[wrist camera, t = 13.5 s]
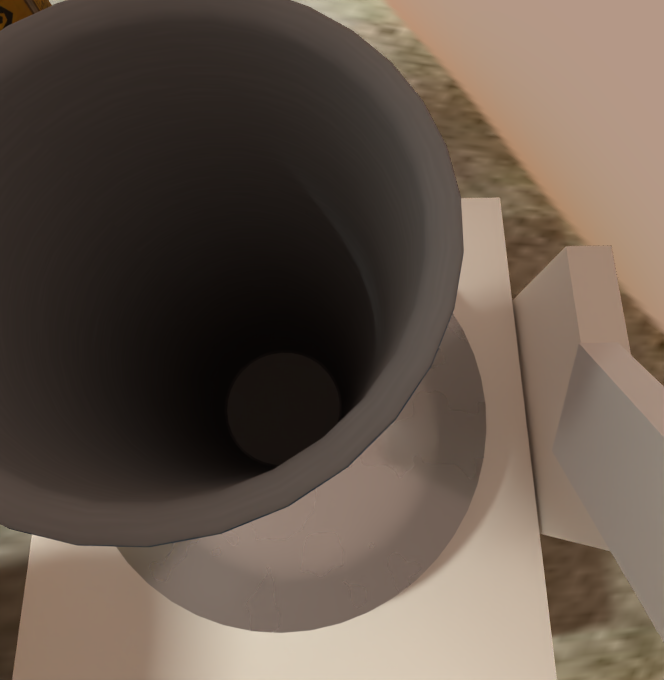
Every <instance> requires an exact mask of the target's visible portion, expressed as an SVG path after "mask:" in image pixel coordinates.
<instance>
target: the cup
mask: <svg viewBox="0 0 664 680" xmlns="http://www.w3.org/2000/svg"><path fill="white" fill-rule="evenodd" d="M463 254H464V245H463V226H462V208H461V196H460V192H459V188H458V185H457V181H456V178H455V174H454V170H453V167H452V163H451V160H450V156H449V152H448V149H447V145H446V143H445V142H444V140H443V138H442V136H441V134H440V132H439V130H438V128H437V126H436V124H435V123H434V121H433V119H432V117H431V115H430V113H429V111H428V109H427V107H426V105H425V104H424V102H423V100H422V99H421V98H420V96H419V95H418V94H417V93H416V92H415V90H414V89H413V88H412V87H411V86H410V84H409V83H408V82H407V81H406V80H405V78H404V77H403V76H402V75H401V73H400V72H399V71H398V70H397V69H396V67H395V66H394V65H393V64H392V63H391V62H390V61H389V60H388V59H387V58H385V57H384V56H383V55H382V54H381V53H379V52H378V51H377V50H376V49H374V48H373V47H372V46H371V45H370V44H368V43H367V42H366V41H365V40H363V39H362V38H361V37H360V36H359V35H357V34H356V33H355V32H354V31H352V30H351V29H349V28H347V27H345V26H343V25H341V24H340V23H338V22H336V21H334V20H332V19H331V18H329V17H327V16H325V15H323V14H321V13H320V12H318V11H316V10H314V9H312V8H311V7H308V6H306V5H303V4H300V3H297V2H294V1H291V0H67V1H63V2H60V3H57V4H54V5H52V6H50V7H48V8H46V9H44V10H41V11H39V12H37V13H35V14H33V15H30V16H28V17H26V18H24V19H22V20H19V21H17V22H15V23H13V24H11V25H9V26H7V27H5V28H4V29H2V30H1V31H0V524H1V525H3V526H5V527H7V528H9V529H12V530H16V531H20V532H24V533H28V534H32V535H37V536H41V537H45V538H49V539H53V540H57V541H61V542H65V543H69V544H73V545H77V546H114V547H154V546H159V545H164V544H170V543H175V542H181V541H186V540H191V539H197V538H202V537H208V536H213V535H218V534H222V533H225V532H227V531H230V530H232V529H235V528H237V527H239V526H242V525H244V524H247V523H249V522H252V521H254V520H257V519H259V518H262V517H264V516H267V515H269V514H272V513H274V512H277V511H279V510H281V509H284V508H286V507H289V506H290V505H292V504H293V503H295V502H296V501H298V500H299V499H301V498H302V497H304V496H305V495H307V494H308V493H310V492H311V491H313V490H314V489H316V488H317V487H319V486H320V485H322V484H323V483H325V482H327V481H328V480H330V479H331V478H333V477H334V476H336V475H337V474H339V473H340V472H342V471H343V470H345V469H346V468H348V467H349V466H350V465H351V464H352V463H353V462H354V461H355V460H356V459H357V458H358V457H359V456H360V455H361V454H362V453H363V452H364V451H365V450H366V449H367V448H368V447H369V446H370V445H371V444H372V443H373V442H374V441H375V440H376V439H377V438H378V437H379V436H380V435H381V434H382V433H383V432H384V431H385V430H386V429H387V428H388V427H389V426H390V425H391V424H392V423H393V422H394V421H395V420H396V419H397V417H398V416H399V414H400V413H401V411H402V410H403V408H404V407H405V405H406V404H407V402H408V401H409V399H410V398H411V396H412V395H413V393H414V392H415V390H416V389H417V387H418V386H419V384H420V383H421V381H422V380H423V378H424V377H425V375H426V374H427V372H428V371H429V369H430V368H431V366H432V364H433V361H434V359H435V356H436V354H437V351H438V349H439V346H440V344H441V341H442V339H443V336H444V334H445V331H446V329H447V326H448V324H449V321H450V319H451V316H452V313H453V311H454V308H455V302H456V296H457V290H458V284H459V278H460V272H461V266H462V260H463Z"/></svg>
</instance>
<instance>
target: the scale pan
mask: <svg viewBox="0 0 664 680" xmlns="http://www.w3.org/2000/svg"><path fill="white" fill-rule="evenodd" d="M485 440H486V404H485V398H484V392H483V386H482V380H481V376H480V373H479V369H478V366H477V362H476V359H475V356H474V353H473V351H472V349H471V346H470V344H469V342H468V340H467V337H466V335H465V333H464V331H463V329H462V327H461V326H460V324H459V322H458V321H457V319H456V318H455V316H454V314H453V313H452V316H451V319H450V321H449V324H448V326H447V329H446V331H445V334H444V336H443V339H442V341H441V344H440V346H439V349H438V351H437V354H436V356H435V359H434V361H433V364H432V366H431V368H430V369H429V371H428V372H427V374H426V375H425V377H424V378H423V380H422V381H421V383H420V384H419V386H418V387H417V389H416V390H415V392H414V393H413V395H412V396H411V398H410V399H409V401H408V402H407V404H406V405H405V407H404V408H403V410H402V411H401V413H400V414H399V416H398V417H397V419H396V420H395V421H394V422H393V423H392V424H391V425H390V426H389V427H388V428H387V429H386V430H385V431H384V432H383V433H382V434H381V435H380V436H379V437H378V438H377V439H376V440H375V441H374V442H373V443H372V444H371V445H370V446H369V447H368V448H367V449H366V450H365V451H364V452H363V453H362V454H361V455H360V456H359V457H358V458H357V459H356V460H355V461H354V462H353V463H352V464H351V465H350V466H349V467H348V468H346V469H345V470H343V471H342V472H340V473H339V474H337V475H336V476H334V477H333V478H331V479H330V480H328V481H327V482H325V483H323V484H322V485H320V486H319V487H317V488H316V489H314V490H313V491H311V492H310V493H308V494H307V495H305V496H304V497H302V498H301V499H299V500H298V501H296V502H295V503H293V504H292V505H290V506H289V507H286V508H284V509H281V510H279V511H277V512H274V513H272V514H269V515H267V516H264V517H262V518H259V519H257V520H254V521H252V522H249V523H247V524H244V525H242V526H239V527H237V528H235V529H232V530H230V531H227V532H225V533H222V534H218V535H213V536H208V537H202V538H197V539H191V540H186V541H181V542H175V543H170V544H164V545H159V546H154V547H116V548H117V549H118V550H119V552H120V553H121V554H122V556H123V557H124V558H125V560H126V561H127V563H128V564H129V565H130V566H131V567H132V568H133V569H134V570H135V571H136V572H137V573H138V574H139V575H140V576H141V577H142V578H143V579H144V580H145V581H146V582H147V583H148V584H149V585H150V586H152V587H153V588H154V589H155V590H157V591H158V592H159V593H161V594H162V595H163V596H165V597H166V598H167V599H169V600H170V601H171V602H173V603H175V604H177V605H179V606H181V607H182V608H184V609H186V610H188V611H190V612H191V613H193V614H195V615H197V616H200V617H203V618H205V619H208V620H211V621H213V622H216V623H219V624H222V625H225V626H230V627H234V628H239V629H244V630H249V631H257V632H274V633H287V632H298V631H310V630H315V629H319V628H323V627H327V626H332V625H336V624H340V623H343V622H345V621H348V620H350V619H353V618H355V617H358V616H360V615H363V614H365V613H368V612H370V611H371V610H373V609H375V608H377V607H378V606H380V605H382V604H384V603H385V602H387V601H389V600H391V599H392V598H394V597H395V596H396V595H398V594H399V593H400V592H402V591H403V590H404V589H405V588H407V587H408V586H409V585H411V584H412V583H413V582H414V581H416V580H417V579H418V578H419V577H420V576H421V575H422V574H423V573H424V572H425V571H426V570H427V569H428V568H429V567H430V566H431V564H432V563H433V562H434V561H435V560H436V559H437V558H438V557H439V555H440V554H441V553H442V551H443V550H444V549H445V547H446V546H447V545H448V543H449V542H450V540H451V539H452V538H453V536H454V535H455V533H456V531H457V529H458V527H459V526H460V524H461V522H462V520H463V518H464V516H465V515H466V513H467V511H468V508H469V506H470V503H471V500H472V498H473V495H474V492H475V490H476V487H477V484H478V480H479V476H480V472H481V467H482V463H483V459H484V450H485Z"/></svg>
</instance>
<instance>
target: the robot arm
mask: <svg viewBox="0 0 664 680" xmlns="http://www.w3.org/2000/svg"><path fill="white" fill-rule="evenodd" d="M552 452H553V454H554V455H555V457H556V459H557V461H558V462H559V464H560V466H561V467H562V469H563V471H564V473H565V474H566V476H567V478H568V479H569V481H570V483H571V485H572V486H573V488H574V490H575V491H576V493H577V495H578V496H579V498H580V500H581V502H582V503H583V505H584V507H585V508H586V510H587V512H588V514H589V515H590V517H591V519H592V520H593V522H594V524H595V526H596V527H597V529H598V531H599V532H600V534H601V536H602V538H603V539H604V541H605V543H606V544H607V546H608V548H609V550H610V551H611V553H612V555H613V556H614V558H615V560H616V561H617V563H618V565H619V567H620V568H621V570H622V572H623V573H624V575H625V577H626V579H627V580H628V582H629V584H630V585H631V587H632V589H633V591H634V592H635V594H636V596H637V597H638V599H639V601H640V603H641V604H642V606H643V608H644V609H645V611H646V613H647V614H648V616H649V618H650V620H651V621H652V623H653V625H654V626H655V628H656V630H657V632H658V633H659V635H660V637H661V638H662V640H663V642H664V386H663V385H662V384H661V383H660V382H659V381H658V380H657V379H656V378H654V377H653V376H652V375H651V374H650V373H649V372H648V371H647V370H646V369H645V368H644V367H643V366H642V365H641V364H640V363H639V362H638V361H637V360H636V359H635V358H634V357H633V356H631V355H630V354H629V353H628V352H627V351H626V350H625V349H624V348H623V347H622V346H621V345H620V344H619V343H618V342H610V343H579V345H578V349H577V353H576V357H575V361H574V364H573V368H572V372H571V376H570V380H569V384H568V388H567V392H566V396H565V400H564V404H563V408H562V412H561V416H560V420H559V424H558V428H557V432H556V436H555V440H554V444H553V448H552Z"/></svg>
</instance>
